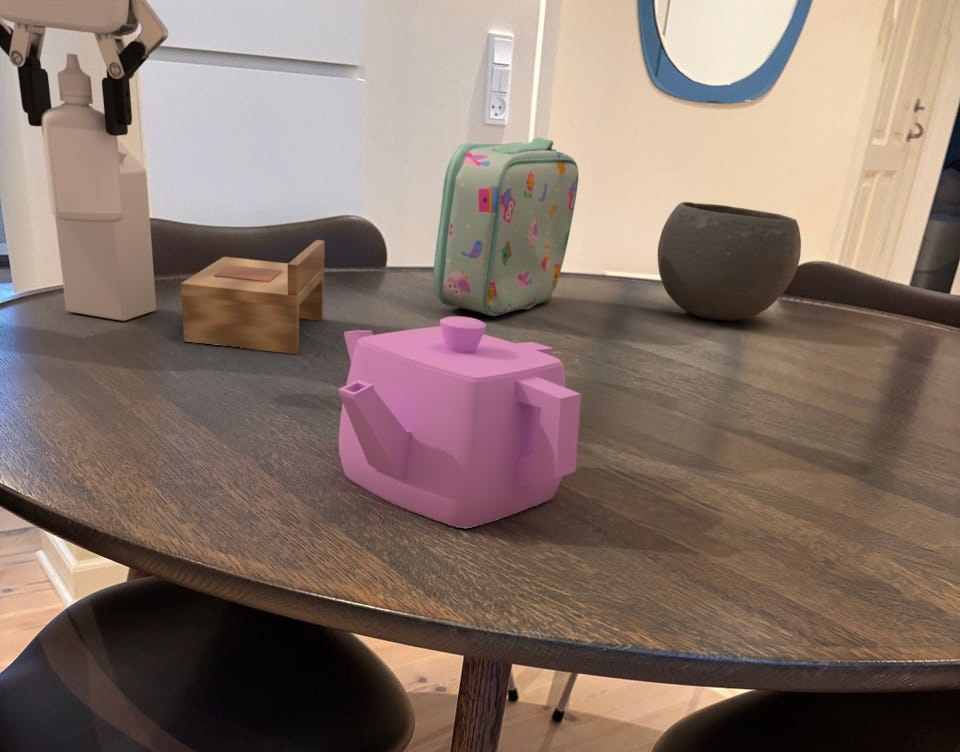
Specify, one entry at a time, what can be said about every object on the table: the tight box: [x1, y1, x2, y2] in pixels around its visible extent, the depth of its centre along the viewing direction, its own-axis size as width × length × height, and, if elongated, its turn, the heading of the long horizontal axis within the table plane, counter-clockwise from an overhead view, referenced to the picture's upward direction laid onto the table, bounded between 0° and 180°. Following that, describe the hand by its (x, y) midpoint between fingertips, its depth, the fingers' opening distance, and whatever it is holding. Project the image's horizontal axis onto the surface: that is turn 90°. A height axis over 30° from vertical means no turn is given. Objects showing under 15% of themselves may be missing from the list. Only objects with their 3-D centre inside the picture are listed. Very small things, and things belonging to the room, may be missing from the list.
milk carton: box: [54, 137, 157, 322], centre depth 102 cm, size 7×7×19 cm
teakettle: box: [338, 315, 582, 527], centre depth 68 cm, size 17×17×12 cm
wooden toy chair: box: [180, 239, 325, 355], centre depth 105 cm, size 12×18×9 cm, turn 179°
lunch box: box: [433, 136, 579, 317], centre depth 128 cm, size 27×10×21 cm, turn 154°
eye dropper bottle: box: [40, 53, 123, 222], centre depth 76 cm, size 4×6×12 cm
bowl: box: [657, 201, 802, 322], centre depth 138 cm, size 20×20×15 cm
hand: (79, 127), depth 76 cm, fingers closed on eye dropper bottle, 5 cm apart
